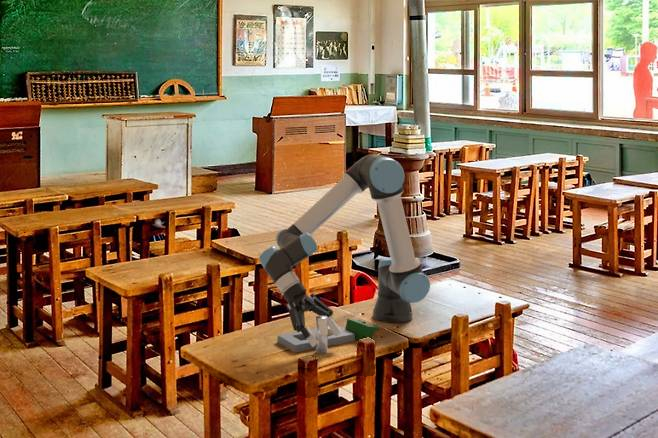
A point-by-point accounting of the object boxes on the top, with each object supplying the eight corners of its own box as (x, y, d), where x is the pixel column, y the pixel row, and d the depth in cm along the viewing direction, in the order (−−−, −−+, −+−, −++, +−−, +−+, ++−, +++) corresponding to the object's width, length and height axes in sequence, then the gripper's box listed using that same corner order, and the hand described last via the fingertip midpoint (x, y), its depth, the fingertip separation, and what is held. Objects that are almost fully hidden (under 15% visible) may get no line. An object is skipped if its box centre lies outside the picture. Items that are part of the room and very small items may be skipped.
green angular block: (371, 351, 288) (383, 330, 285) (359, 350, 284) (371, 329, 281) (353, 330, 296) (365, 309, 294) (341, 329, 292) (353, 308, 290)
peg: (323, 349, 276) (324, 315, 274) (329, 352, 273) (330, 318, 271) (313, 351, 274) (313, 316, 272) (319, 354, 271) (320, 319, 269)
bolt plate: (336, 331, 295) (336, 320, 295) (354, 340, 285) (355, 329, 285) (277, 341, 283) (277, 330, 282) (294, 352, 273) (294, 340, 272)
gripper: (306, 286, 289) (341, 335, 284) (262, 302, 269) (298, 355, 263) (319, 274, 285) (354, 323, 280) (275, 289, 265) (312, 343, 259)
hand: (327, 339), depth 271 cm, fingers open, 13 cm apart
